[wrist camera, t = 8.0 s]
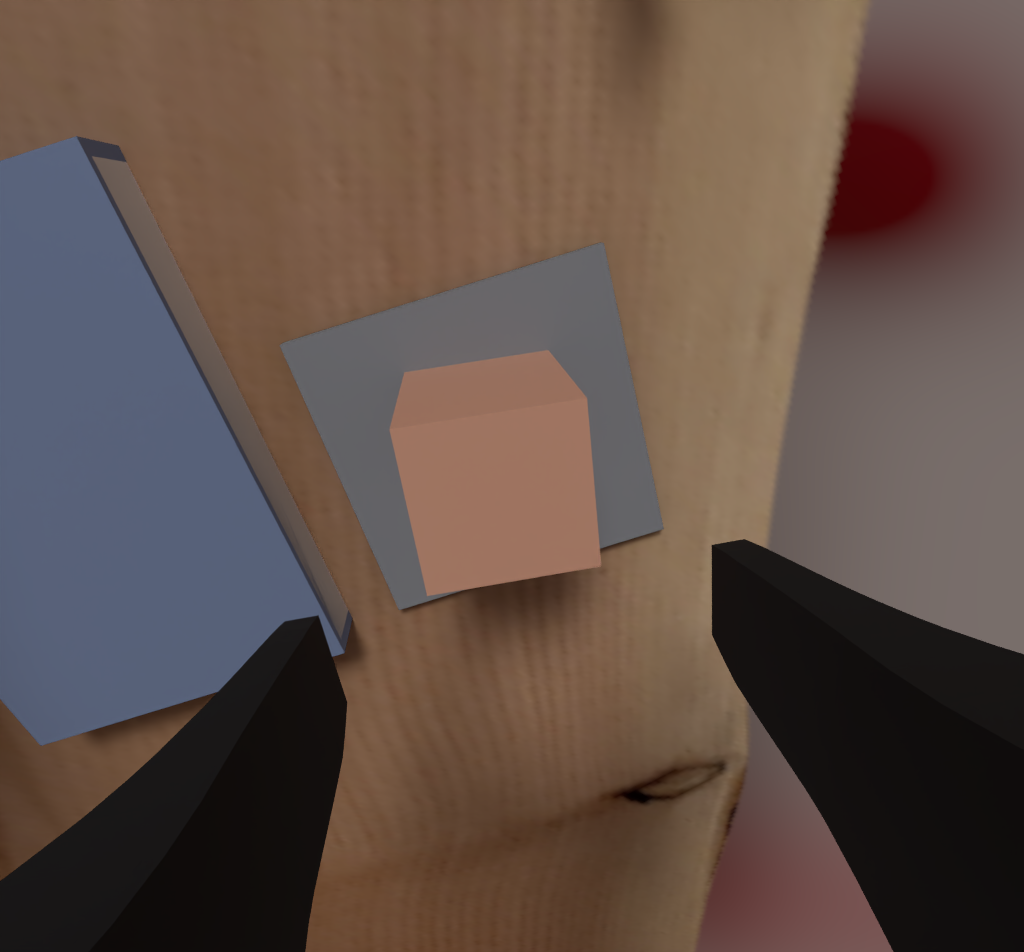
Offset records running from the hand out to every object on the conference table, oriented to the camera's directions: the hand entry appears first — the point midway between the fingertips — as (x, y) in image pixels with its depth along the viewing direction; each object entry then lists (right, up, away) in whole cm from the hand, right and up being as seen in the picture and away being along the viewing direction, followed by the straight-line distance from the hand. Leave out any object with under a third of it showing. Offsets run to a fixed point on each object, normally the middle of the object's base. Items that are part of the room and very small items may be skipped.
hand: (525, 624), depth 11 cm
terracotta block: (-1, +4, +9) cm, 10 cm away
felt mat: (-1, +4, +9) cm, 10 cm away
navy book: (-14, +3, +9) cm, 17 cm away
